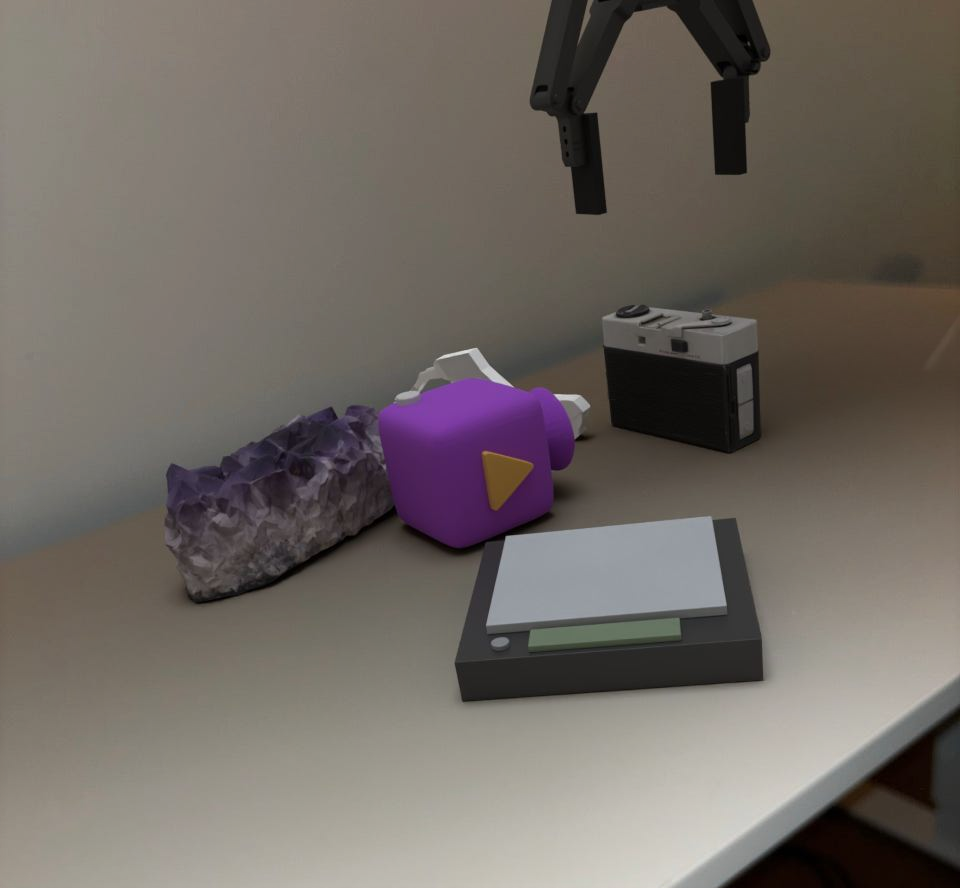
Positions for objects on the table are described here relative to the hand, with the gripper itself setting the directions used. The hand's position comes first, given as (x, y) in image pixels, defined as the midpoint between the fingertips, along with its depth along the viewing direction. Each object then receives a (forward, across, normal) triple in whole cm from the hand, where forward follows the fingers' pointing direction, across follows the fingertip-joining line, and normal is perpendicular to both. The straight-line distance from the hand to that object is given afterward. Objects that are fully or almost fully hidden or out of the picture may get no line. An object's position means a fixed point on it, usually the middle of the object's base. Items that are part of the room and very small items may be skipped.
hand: (663, 193), depth 79 cm
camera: (+19, -2, 0) cm, 19 cm away
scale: (+19, +24, +21) cm, 37 cm away
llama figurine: (+19, +10, -14) cm, 25 cm away
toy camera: (+19, +19, +1) cm, 27 cm away
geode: (+19, +32, -7) cm, 38 cm away
